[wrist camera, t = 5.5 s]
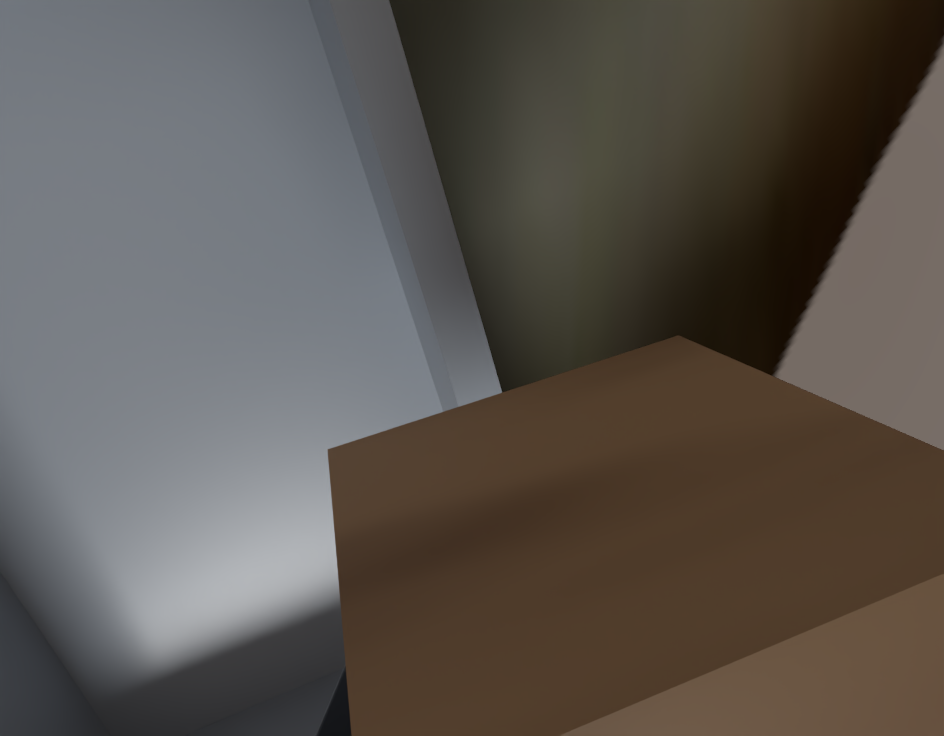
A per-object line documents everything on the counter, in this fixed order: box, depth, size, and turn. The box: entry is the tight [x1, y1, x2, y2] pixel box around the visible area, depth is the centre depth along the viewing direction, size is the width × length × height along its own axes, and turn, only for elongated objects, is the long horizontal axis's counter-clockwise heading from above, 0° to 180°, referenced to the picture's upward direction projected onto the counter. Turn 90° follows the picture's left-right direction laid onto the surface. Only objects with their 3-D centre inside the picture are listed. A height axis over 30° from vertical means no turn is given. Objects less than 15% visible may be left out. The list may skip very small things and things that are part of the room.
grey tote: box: [0, 0, 502, 736], centre depth 15 cm, size 22×14×5 cm, turn 16°
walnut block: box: [327, 335, 944, 736], centre depth 7 cm, size 5×5×5 cm
